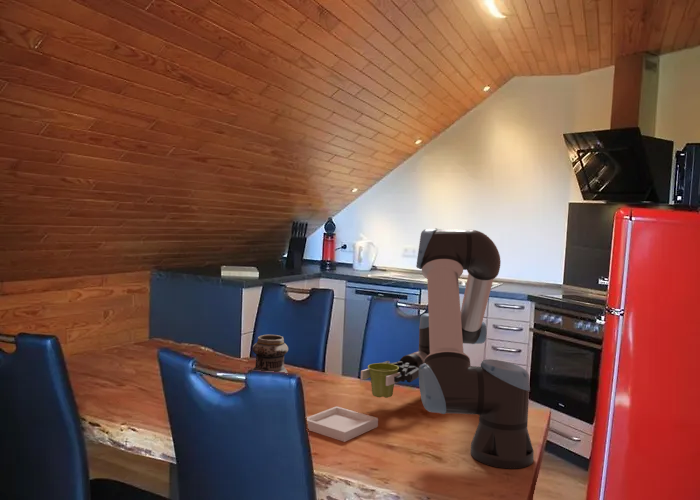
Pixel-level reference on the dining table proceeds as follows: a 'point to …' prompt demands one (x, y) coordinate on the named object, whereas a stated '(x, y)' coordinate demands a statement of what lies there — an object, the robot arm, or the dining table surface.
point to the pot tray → (341, 423)
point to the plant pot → (381, 378)
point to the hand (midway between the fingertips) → (374, 378)
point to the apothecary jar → (270, 353)
